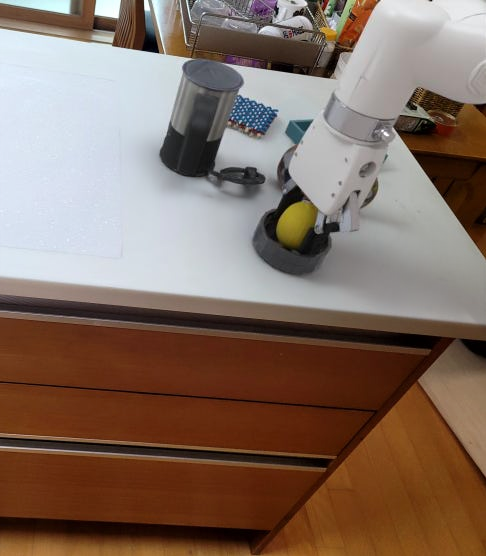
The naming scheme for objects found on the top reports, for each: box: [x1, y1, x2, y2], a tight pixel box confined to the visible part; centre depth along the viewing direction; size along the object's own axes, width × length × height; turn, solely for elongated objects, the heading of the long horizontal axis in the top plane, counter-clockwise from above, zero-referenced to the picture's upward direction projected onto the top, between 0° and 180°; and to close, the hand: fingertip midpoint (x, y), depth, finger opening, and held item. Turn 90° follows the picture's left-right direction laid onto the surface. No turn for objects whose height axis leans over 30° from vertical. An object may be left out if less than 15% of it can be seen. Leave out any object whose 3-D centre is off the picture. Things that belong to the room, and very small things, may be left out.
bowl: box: [252, 207, 333, 275], centre depth 76 cm, size 10×10×4 cm
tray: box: [284, 118, 389, 168], centre depth 98 cm, size 13×12×2 cm
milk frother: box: [159, 58, 267, 186], centre depth 82 cm, size 14×16×15 cm
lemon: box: [276, 201, 318, 250], centre depth 74 cm, size 6×6×8 cm
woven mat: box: [227, 94, 279, 139], centre depth 100 cm, size 10×11×2 cm
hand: (295, 232), depth 75 cm, fingers open, 5 cm apart
